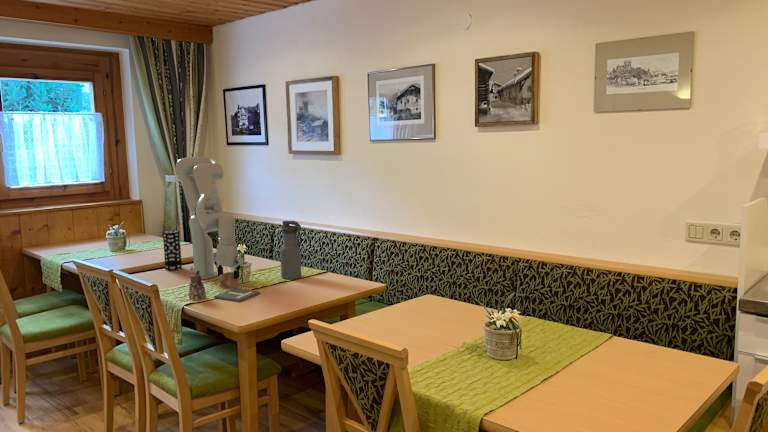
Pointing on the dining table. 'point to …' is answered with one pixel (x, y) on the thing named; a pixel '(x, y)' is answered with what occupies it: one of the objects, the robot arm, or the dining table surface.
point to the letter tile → (237, 294)
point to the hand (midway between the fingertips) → (228, 276)
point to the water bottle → (291, 251)
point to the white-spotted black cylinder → (172, 250)
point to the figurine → (196, 287)
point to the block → (228, 280)
